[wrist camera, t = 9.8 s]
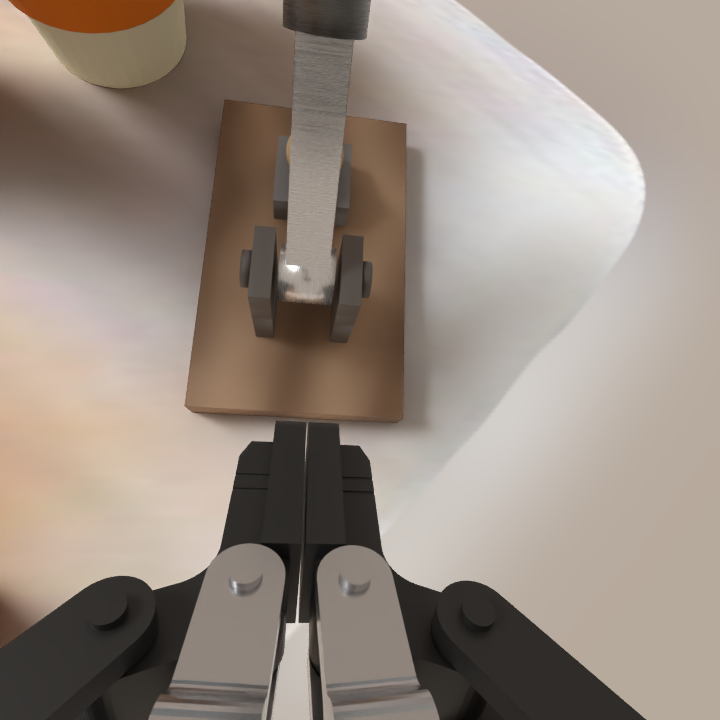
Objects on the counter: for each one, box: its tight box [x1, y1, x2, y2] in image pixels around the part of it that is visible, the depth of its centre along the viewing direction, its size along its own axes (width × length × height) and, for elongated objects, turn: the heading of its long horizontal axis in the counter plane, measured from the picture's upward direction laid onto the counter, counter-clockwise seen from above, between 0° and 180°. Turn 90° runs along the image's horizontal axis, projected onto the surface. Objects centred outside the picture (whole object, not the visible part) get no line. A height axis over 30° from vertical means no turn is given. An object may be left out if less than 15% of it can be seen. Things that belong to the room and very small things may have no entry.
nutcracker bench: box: [185, 100, 406, 423], centre depth 28 cm, size 12×20×8 cm, turn 178°
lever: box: [278, 0, 371, 305], centre depth 18 cm, size 4×4×20 cm
